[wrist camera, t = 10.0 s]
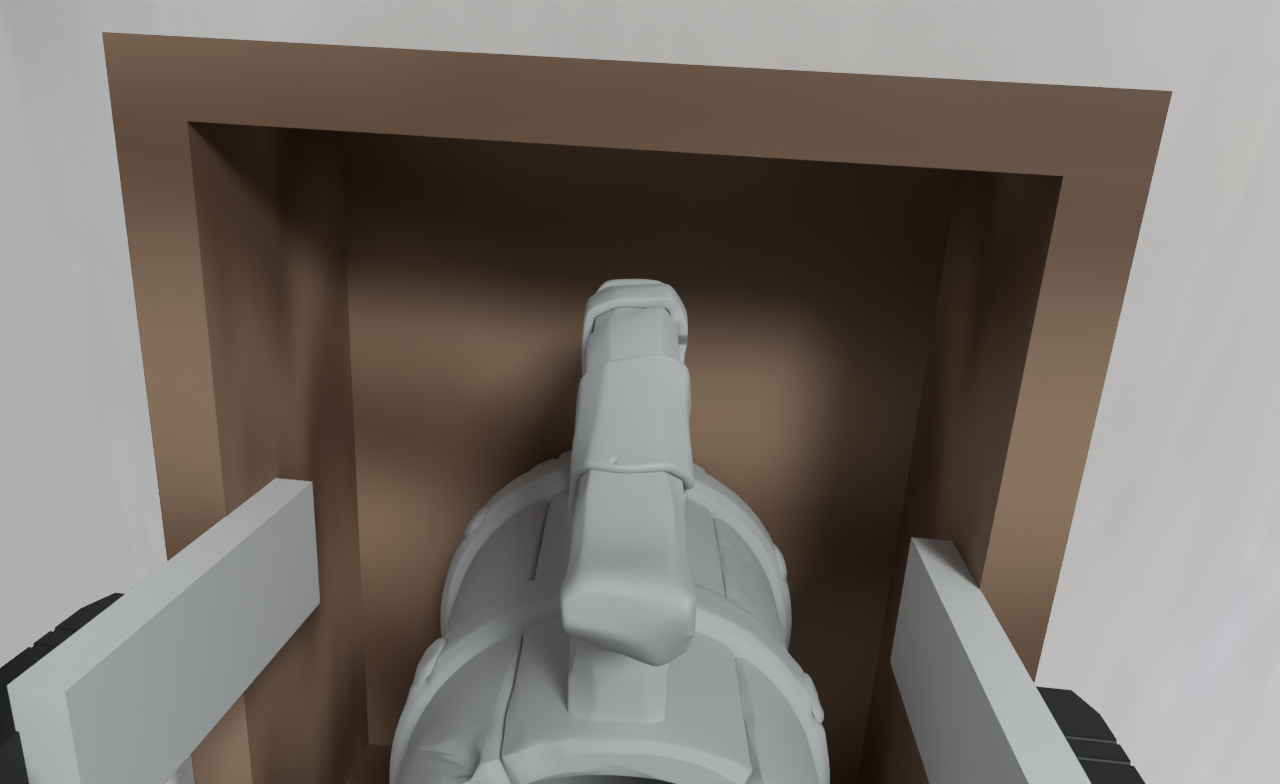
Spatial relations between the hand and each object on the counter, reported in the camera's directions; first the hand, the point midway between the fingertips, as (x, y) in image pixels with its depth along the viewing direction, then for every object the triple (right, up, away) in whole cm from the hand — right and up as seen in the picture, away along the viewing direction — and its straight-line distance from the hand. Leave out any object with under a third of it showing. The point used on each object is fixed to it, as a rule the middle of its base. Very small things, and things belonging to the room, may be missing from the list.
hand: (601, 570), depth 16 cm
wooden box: (0, +1, +4) cm, 4 cm away
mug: (0, +1, +3) cm, 4 cm away
